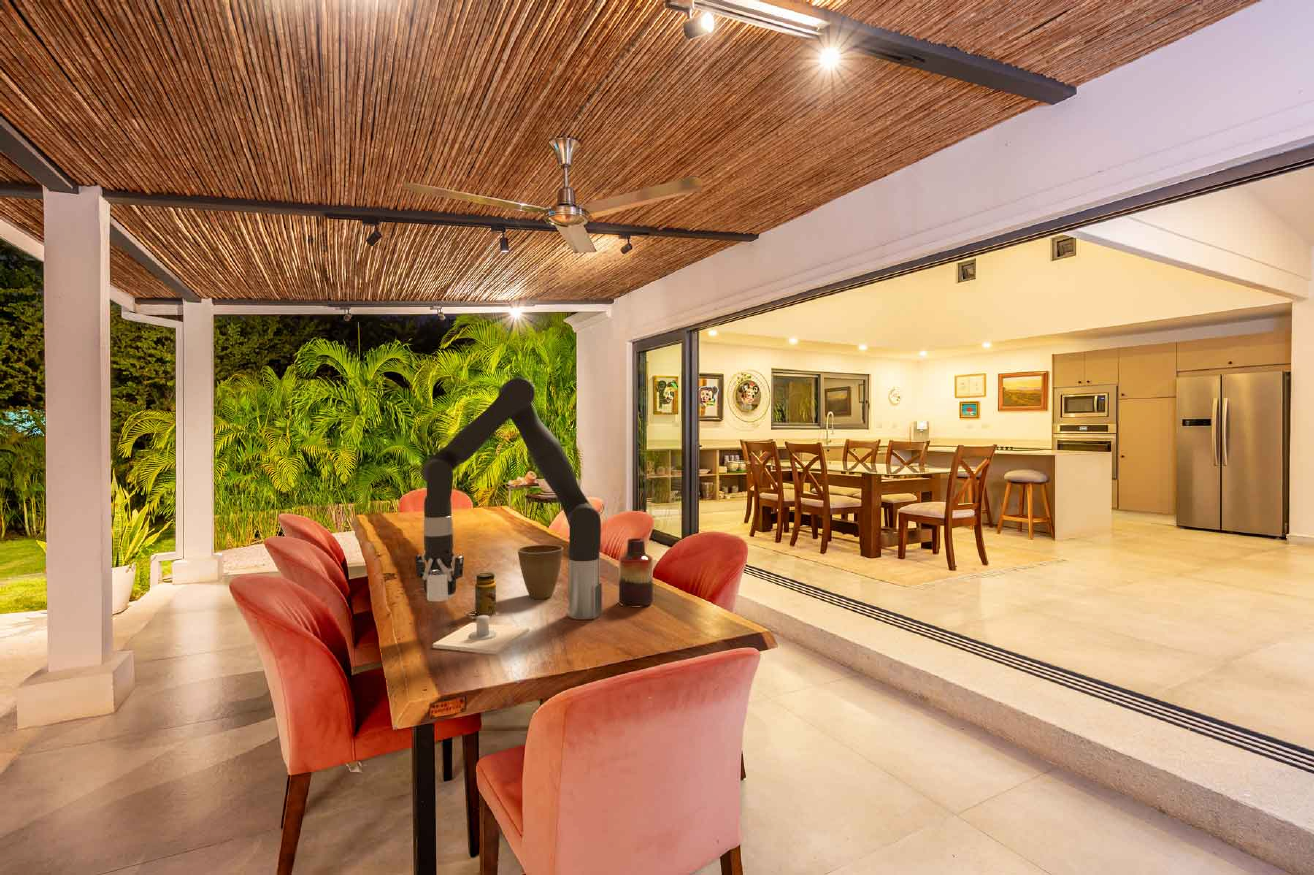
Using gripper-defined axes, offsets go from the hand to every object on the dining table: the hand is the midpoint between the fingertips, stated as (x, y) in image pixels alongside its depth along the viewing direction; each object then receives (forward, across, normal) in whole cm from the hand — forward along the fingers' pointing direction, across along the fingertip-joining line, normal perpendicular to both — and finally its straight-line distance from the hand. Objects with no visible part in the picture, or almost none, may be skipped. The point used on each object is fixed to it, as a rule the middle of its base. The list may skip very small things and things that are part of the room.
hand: (440, 593), depth 172 cm
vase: (+13, -43, -43) cm, 62 cm away
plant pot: (+12, -10, -42) cm, 45 cm away
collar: (+1, 0, 0) cm, 1 cm away
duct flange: (+11, -13, +1) cm, 18 cm away
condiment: (+12, -2, -19) cm, 22 cm away
